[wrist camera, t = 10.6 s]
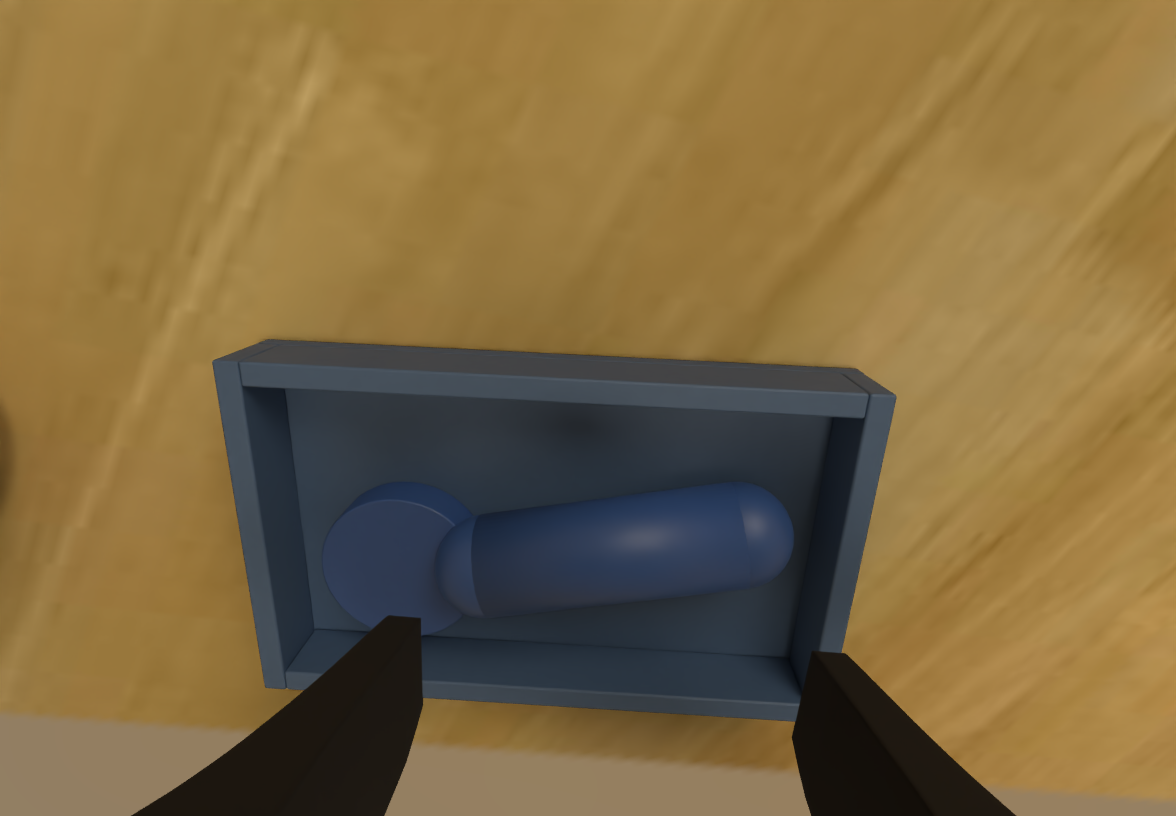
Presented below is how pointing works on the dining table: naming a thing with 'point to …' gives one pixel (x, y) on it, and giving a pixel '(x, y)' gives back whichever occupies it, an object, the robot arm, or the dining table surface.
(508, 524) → the blue spoon
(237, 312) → the dining table surface
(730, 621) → the tray
